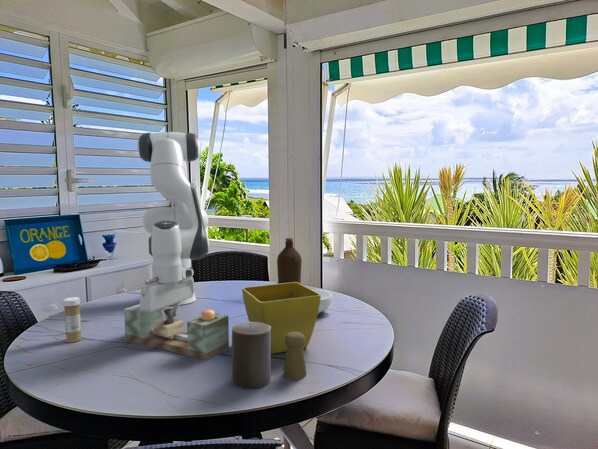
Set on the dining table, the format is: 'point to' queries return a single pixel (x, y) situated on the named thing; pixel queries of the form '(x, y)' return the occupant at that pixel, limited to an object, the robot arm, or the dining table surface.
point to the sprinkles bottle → (72, 319)
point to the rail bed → (195, 342)
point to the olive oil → (289, 264)
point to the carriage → (168, 326)
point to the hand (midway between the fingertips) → (168, 318)
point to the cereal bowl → (324, 300)
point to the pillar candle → (251, 355)
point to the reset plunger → (208, 315)
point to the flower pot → (283, 310)
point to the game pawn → (295, 356)
